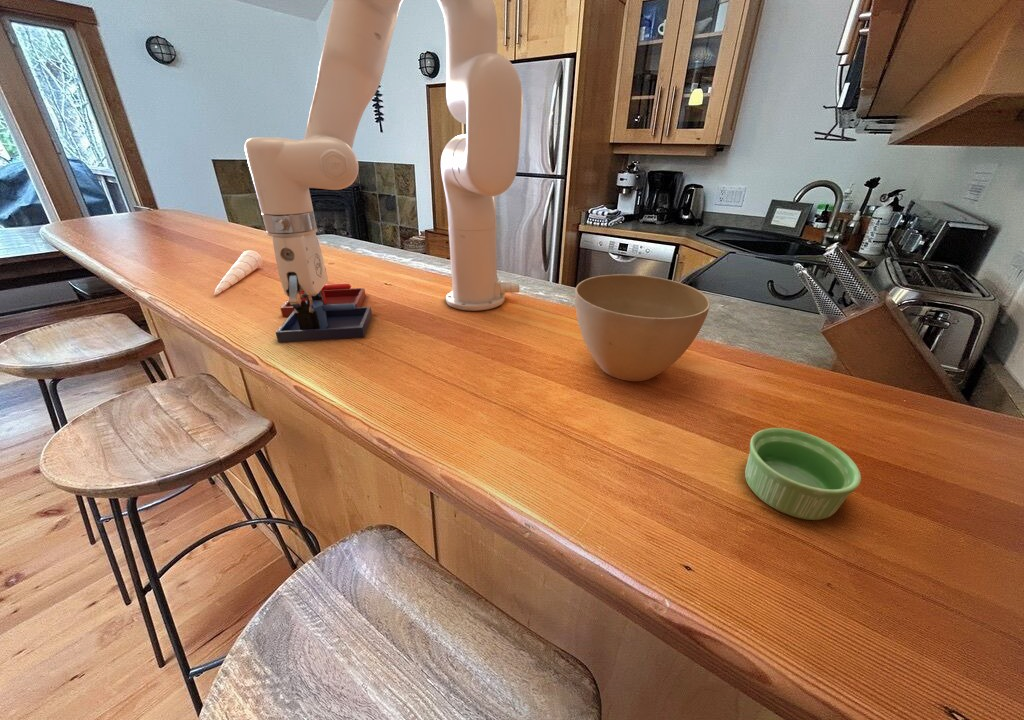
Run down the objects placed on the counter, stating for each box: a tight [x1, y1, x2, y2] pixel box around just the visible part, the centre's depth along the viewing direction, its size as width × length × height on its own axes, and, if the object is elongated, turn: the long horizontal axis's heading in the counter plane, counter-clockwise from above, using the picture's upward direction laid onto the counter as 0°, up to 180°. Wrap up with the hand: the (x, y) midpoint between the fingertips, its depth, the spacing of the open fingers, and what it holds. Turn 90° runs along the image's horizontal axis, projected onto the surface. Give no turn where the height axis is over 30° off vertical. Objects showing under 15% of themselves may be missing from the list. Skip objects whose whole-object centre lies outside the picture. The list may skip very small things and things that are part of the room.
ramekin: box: [744, 427, 862, 521], centre depth 40 cm, size 9×9×4 cm
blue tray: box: [275, 306, 373, 343], centre depth 75 cm, size 14×10×2 cm
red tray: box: [280, 287, 367, 318], centre depth 86 cm, size 14×10×2 cm
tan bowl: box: [574, 273, 711, 382], centre depth 60 cm, size 18×18×12 cm
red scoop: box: [300, 283, 352, 305], centre depth 85 cm, size 10×4×4 cm, turn 99°
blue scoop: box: [305, 300, 356, 329], centre depth 75 cm, size 10×4×4 cm, turn 99°
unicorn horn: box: [213, 249, 263, 296], centre depth 100 cm, size 5×24×5 cm, turn 6°
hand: (314, 325), depth 75 cm, fingers open, 4 cm apart
